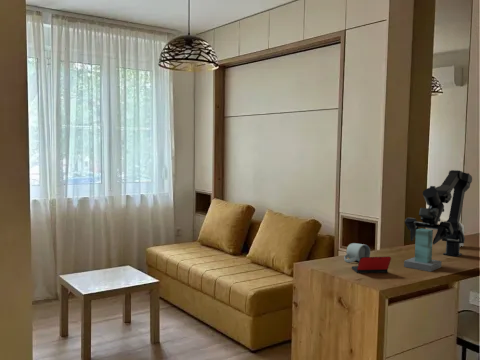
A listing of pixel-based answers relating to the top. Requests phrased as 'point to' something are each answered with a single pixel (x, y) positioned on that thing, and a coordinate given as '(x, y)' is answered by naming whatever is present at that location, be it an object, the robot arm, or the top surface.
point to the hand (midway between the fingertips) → (422, 242)
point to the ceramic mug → (356, 252)
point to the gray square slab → (422, 264)
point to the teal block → (423, 245)
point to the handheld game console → (372, 265)
